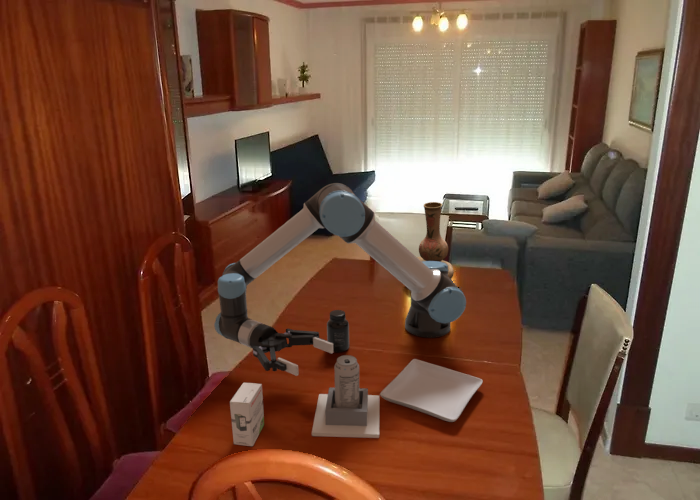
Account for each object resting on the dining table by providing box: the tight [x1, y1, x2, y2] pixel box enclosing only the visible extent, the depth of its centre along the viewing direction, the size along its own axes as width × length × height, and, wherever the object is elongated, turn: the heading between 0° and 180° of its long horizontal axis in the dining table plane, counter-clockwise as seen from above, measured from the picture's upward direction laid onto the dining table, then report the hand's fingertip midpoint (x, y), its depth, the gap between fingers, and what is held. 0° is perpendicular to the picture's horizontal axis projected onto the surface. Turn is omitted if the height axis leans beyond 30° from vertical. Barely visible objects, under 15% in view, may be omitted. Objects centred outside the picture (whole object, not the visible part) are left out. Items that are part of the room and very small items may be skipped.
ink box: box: [229, 382, 265, 447], centre depth 126 cm, size 9×5×12 cm, turn 169°
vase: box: [405, 201, 455, 290], centre depth 208 cm, size 24×22×35 cm
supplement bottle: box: [326, 309, 350, 353], centre depth 166 cm, size 7×7×12 cm
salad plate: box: [379, 358, 484, 423], centre depth 142 cm, size 21×21×3 cm
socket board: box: [311, 387, 381, 439], centre depth 133 cm, size 16×16×5 cm
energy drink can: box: [333, 354, 360, 409], centre depth 131 cm, size 6×6×15 cm
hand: (315, 359), depth 137 cm, fingers open, 13 cm apart
